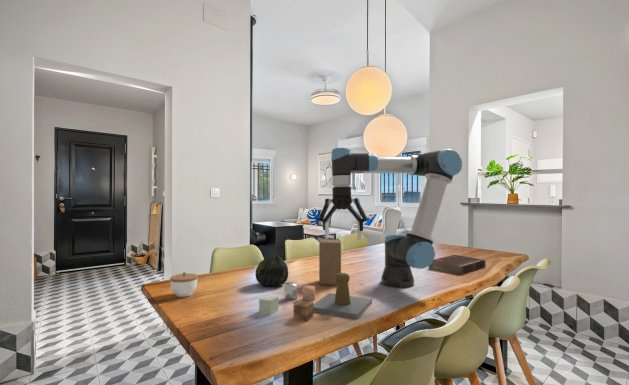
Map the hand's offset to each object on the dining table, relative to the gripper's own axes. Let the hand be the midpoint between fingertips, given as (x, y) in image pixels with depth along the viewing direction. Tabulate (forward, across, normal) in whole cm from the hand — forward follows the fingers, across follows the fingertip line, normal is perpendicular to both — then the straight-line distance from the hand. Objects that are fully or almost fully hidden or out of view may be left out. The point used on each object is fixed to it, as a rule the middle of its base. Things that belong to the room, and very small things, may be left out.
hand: (343, 238), depth 133 cm
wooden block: (+24, +13, -20) cm, 34 cm away
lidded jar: (+22, +63, +22) cm, 71 cm away
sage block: (+23, +20, +25) cm, 40 cm away
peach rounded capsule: (+24, +13, +7) cm, 28 cm away
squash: (+24, +37, -6) cm, 44 cm away
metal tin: (+24, +20, +9) cm, 32 cm away
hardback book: (+27, -43, -78) cm, 93 cm away
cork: (+23, -2, +10) cm, 25 cm away
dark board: (+24, -2, +10) cm, 26 cm away
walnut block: (+24, +7, +26) cm, 35 cm away
